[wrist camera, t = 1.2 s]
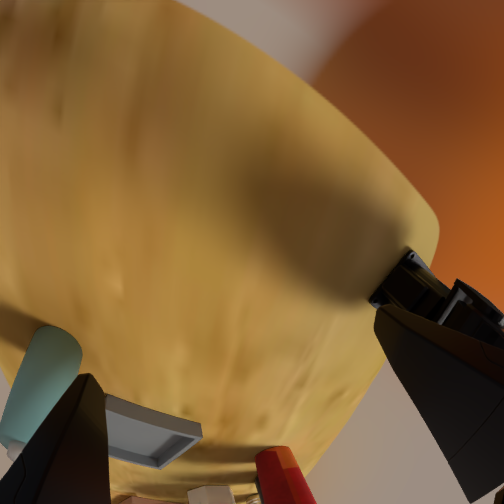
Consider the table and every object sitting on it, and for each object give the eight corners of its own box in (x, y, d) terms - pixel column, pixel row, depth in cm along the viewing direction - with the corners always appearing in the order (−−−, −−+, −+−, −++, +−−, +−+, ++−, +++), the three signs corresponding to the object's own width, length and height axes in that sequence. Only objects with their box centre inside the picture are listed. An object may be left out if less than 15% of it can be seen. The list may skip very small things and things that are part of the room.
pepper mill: (89, 343, 22) (65, 468, 11) (74, 373, 23) (55, 484, 13) (39, 316, 20) (-8, 434, 9) (29, 350, 21) (-5, 457, 10)
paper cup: (246, 467, 38) (268, 541, 26) (248, 448, 35) (274, 534, 23) (293, 458, 40) (321, 527, 28) (301, 437, 37) (335, 516, 24)
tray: (200, 423, 30) (202, 437, 28) (159, 457, 32) (160, 469, 30) (107, 393, 25) (105, 409, 23) (81, 434, 27) (80, 447, 26)
